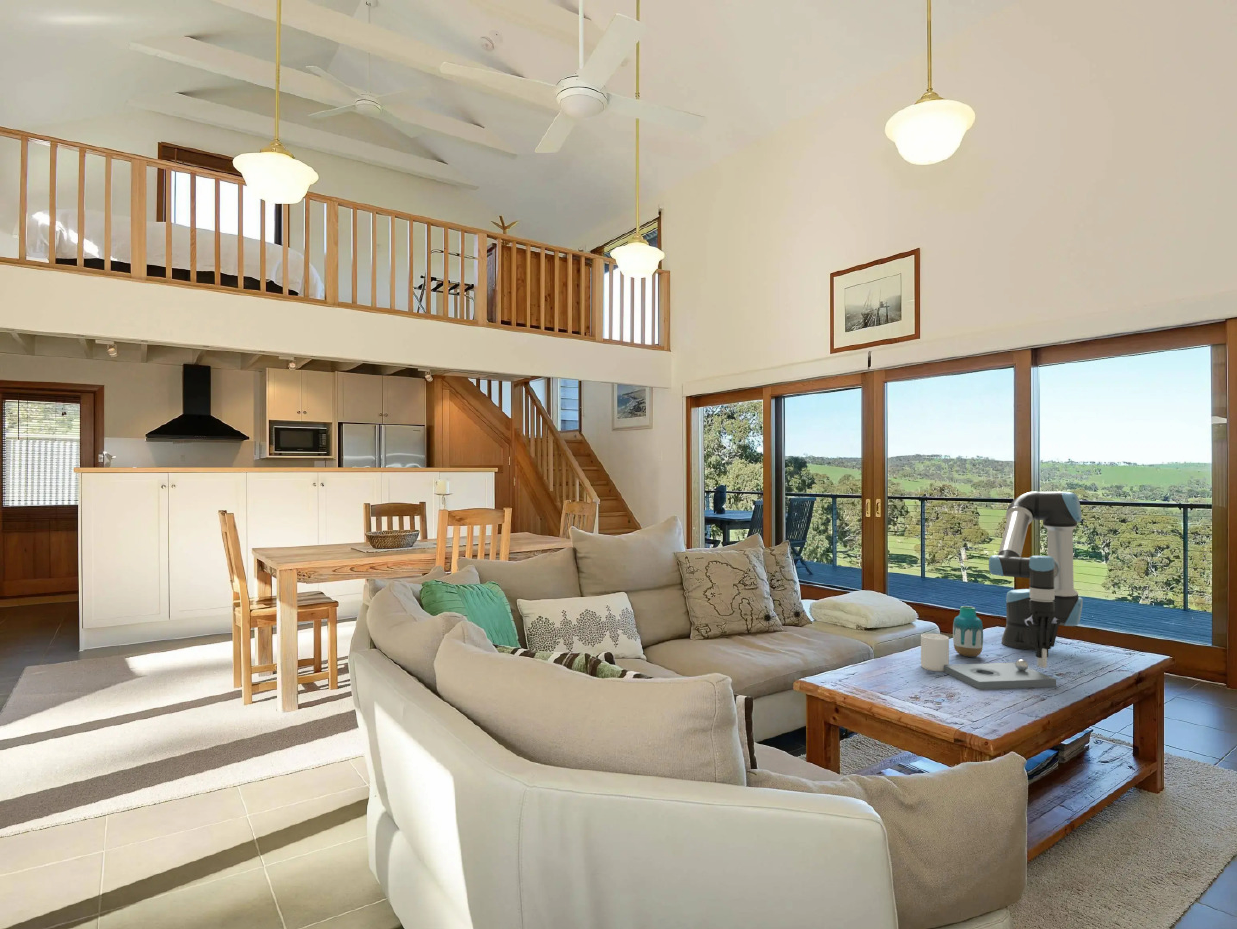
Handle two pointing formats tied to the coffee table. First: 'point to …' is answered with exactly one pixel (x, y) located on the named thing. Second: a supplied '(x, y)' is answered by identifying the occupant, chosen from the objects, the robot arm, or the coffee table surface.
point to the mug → (934, 651)
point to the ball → (1021, 665)
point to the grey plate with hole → (998, 676)
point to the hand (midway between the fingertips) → (1042, 666)
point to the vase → (968, 632)
